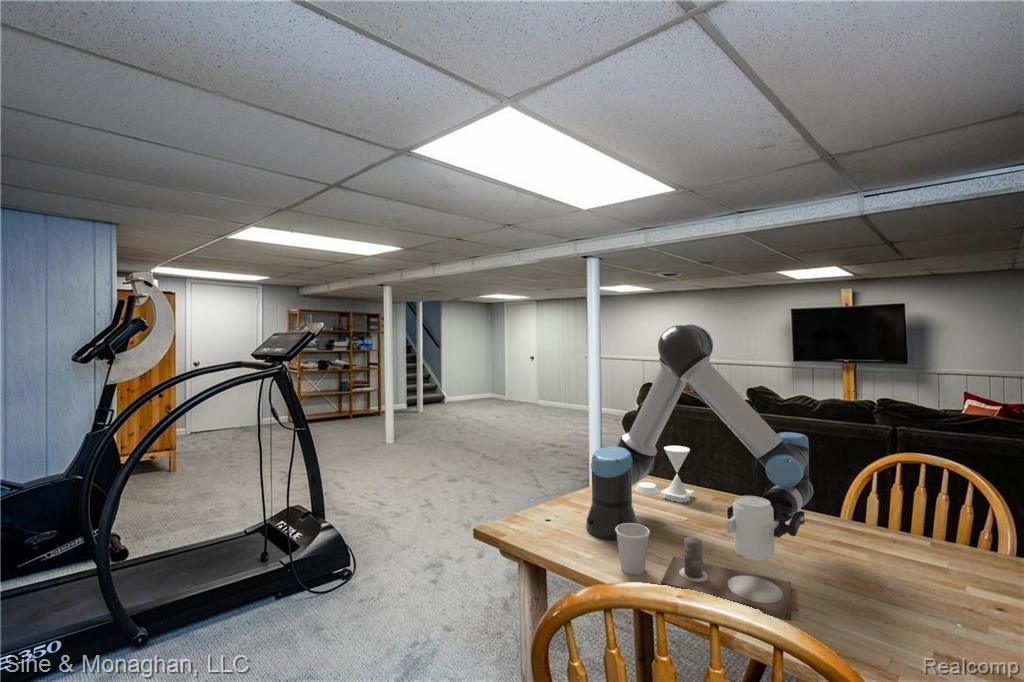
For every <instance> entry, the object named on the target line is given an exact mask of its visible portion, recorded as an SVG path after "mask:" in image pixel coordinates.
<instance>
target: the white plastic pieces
mask: <svg viewBox="0 0 1024 682" xmlns="http://www.w3.org/2000/svg"><path fill="white" fill-rule="evenodd" d="M663 449H664V451H665V454H666V455H667V456H668V459H669V461H670V463H671V465H672V467H673V468H674V471H675V472H676V474H675V475H674V478H673V480H672V481H671V483H670V484H669V486H667V487H666V488H665V489H663V490H661V491H660V490H659V488H658V486H657V484H656V483H654V482H650V481H641V482H637V485H636V487H635V488H634V491H635V490H636V491H637V492H640V493H644V494H643V495H645V494H655V495H657V494H656V493H658V494H659V493H661V494H664V495H663V497H665V498H666V500H667V499H668V500H667V501H669V500H671V501H670V502H673V501H676V502H675V503H687V501H688V502H690V501H691V497H690V495H691V494H692V493H694V492H695V490H691V489H687V488H685V486H684V484H683V482H682V480H681V478H680V476H679V474H678V472H679V471H680V468H681V467H682V465H683V463H684V461H685V460H686V457H687V456H688V454H690V451H691V449H690V447H687V446H681V445H667V446H664V447H663ZM636 491H635V492H636ZM637 492H636V493H637ZM640 493H639V494H640ZM665 498H664V499H665Z"/></svg>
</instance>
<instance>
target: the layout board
mask: <svg viewBox="0 0 1024 682" xmlns="http://www.w3.org/2000/svg"><path fill="white" fill-rule="evenodd" d="M683 541H684V549H683V550H684V558H683V557H678V556H673V557H672V559H671V561H670V563H669V565H668V567H667V569H666V571H665V573H664V575H663V577H662V579H661V581H660V586H661V585H668V586H671V587H675V588H681V589H690V590H695V591H698V592H703V593H706V594H710V595H713V596H716V597H720V598H723V599H727V600H730V601H733V602H737V603H740V604H743V605H746V606H749V607H752V608H754V609H759V610H760V611H762V612H764V613H767V614H766V615H768V614H769V615H768V616H773V617H776V618H780V619H784V620H788V621H791V620H792V612H791V611H792V599H791V598H792V588H791V587H792V582H790V581H787V580H783V579H778V578H773V577H769V576H764V575H759V574H755V573H750V572H746V571H740V570H737V569H732V568H729V567H723V566H719V565H714V564H709V563H705V562H703V561H704V560H703V540H701V539H700V538H697V537H685V538H684V540H683ZM764 613H763V614H764Z"/></svg>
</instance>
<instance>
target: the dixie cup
mask: <svg viewBox="0 0 1024 682" xmlns="http://www.w3.org/2000/svg"><path fill="white" fill-rule="evenodd" d="M615 531H616V532H617V540H616V541H617V546H618V552H619V553H618V554H619V563H620V567H621V568H620V569H621V571H622V572H623V573H625V574H627V573H628V575H630V574H635V575H634V576H640V575H643V574H644V573H645V571H646V570H645V569H646V561H647V560H646V559H647V556H648V555H647V554H648V545H649V537H650V533H651V530H650V529H649V528H648V527H646V526H645V525H642V524H640V523H638V524H635V523H624V524H620V525H618V526H617V527H616V528H615ZM642 573H643V574H642Z"/></svg>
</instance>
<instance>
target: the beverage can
mask: <svg viewBox="0 0 1024 682" xmlns="http://www.w3.org/2000/svg"><path fill="white" fill-rule="evenodd" d="M761 497H762V496H761ZM761 497H760V496H755V495H740V496H739V495H738V496H737V497H735V499H734V502H733V504H732V506H733V517H734V518H735V531H734V532H733V549H734V551H735V552H736V553H737V554H738V555H740V556H741V557H743V558H745V559H748V560H752V561H761V562H762V561H768V560H771V559H773V558H775V556H776V555H775V553H776V552H775V551H776V550H775V539H774V540H773V541H772V542H771V543H770V544H766V543H765V530H766V529H767V528H768V527H769V526H770V525H771V524H773V523H774V522H775V521H774V513H773V507H772V506H771V503H770V501H768V500H767V499H764V498H761Z"/></svg>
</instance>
